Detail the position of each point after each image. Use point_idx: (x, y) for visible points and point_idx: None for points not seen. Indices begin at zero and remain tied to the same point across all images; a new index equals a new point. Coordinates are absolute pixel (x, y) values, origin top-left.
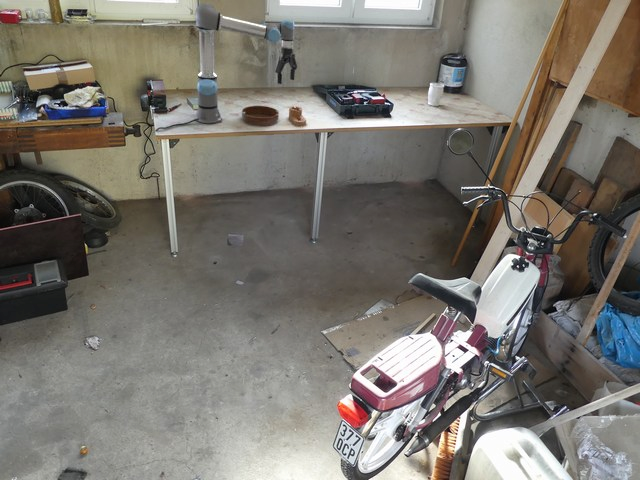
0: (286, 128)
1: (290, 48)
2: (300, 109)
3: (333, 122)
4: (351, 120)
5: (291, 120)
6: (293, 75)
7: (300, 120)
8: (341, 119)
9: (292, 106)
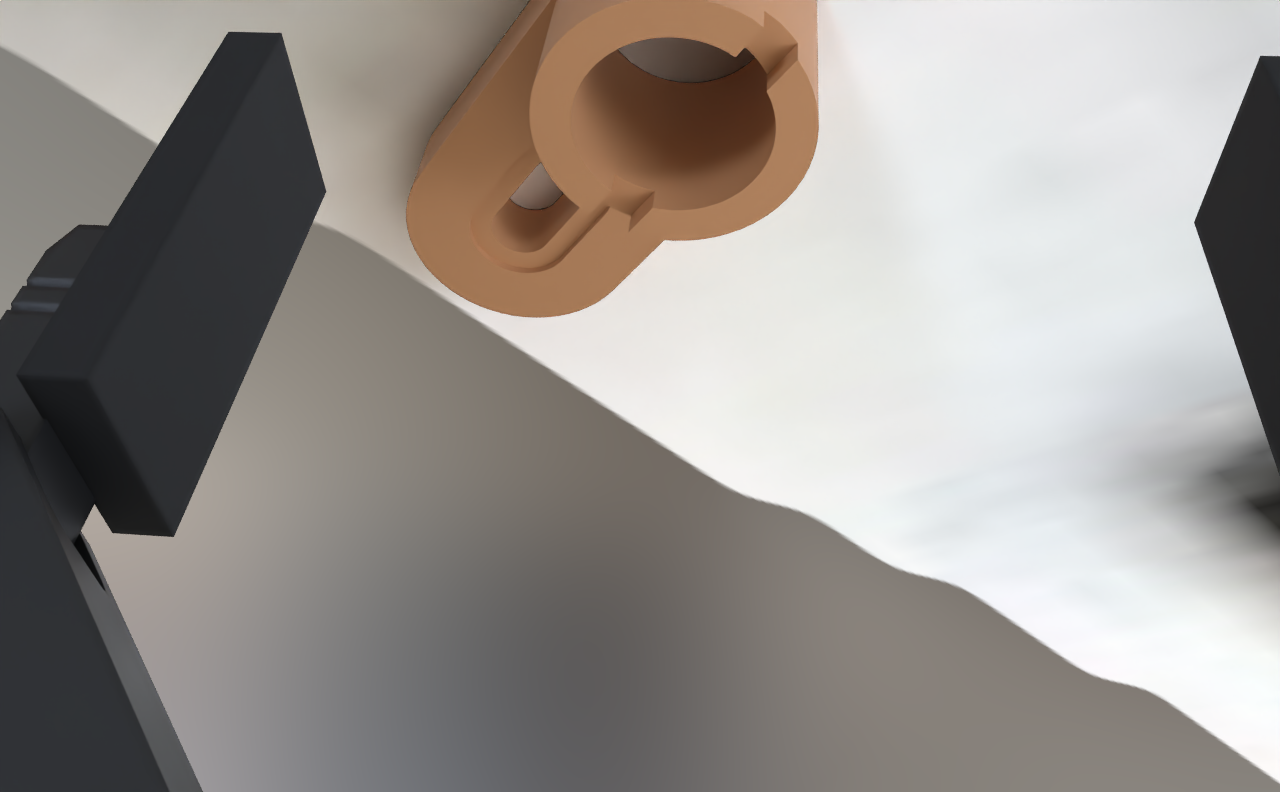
0: None
1: None
2: (691, 222)
3: (969, 447)
4: (1202, 546)
5: (486, 68)
6: (1254, 359)
7: (573, 203)
8: (1168, 467)
9: (733, 12)
